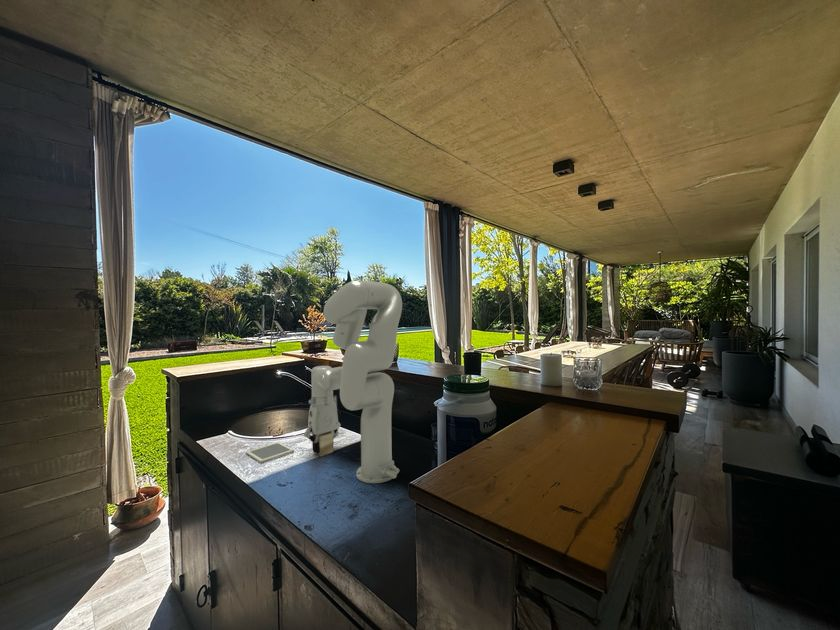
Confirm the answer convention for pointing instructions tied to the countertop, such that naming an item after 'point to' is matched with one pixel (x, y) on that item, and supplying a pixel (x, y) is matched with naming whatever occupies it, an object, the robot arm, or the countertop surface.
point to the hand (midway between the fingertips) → (323, 449)
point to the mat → (269, 452)
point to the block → (325, 443)
